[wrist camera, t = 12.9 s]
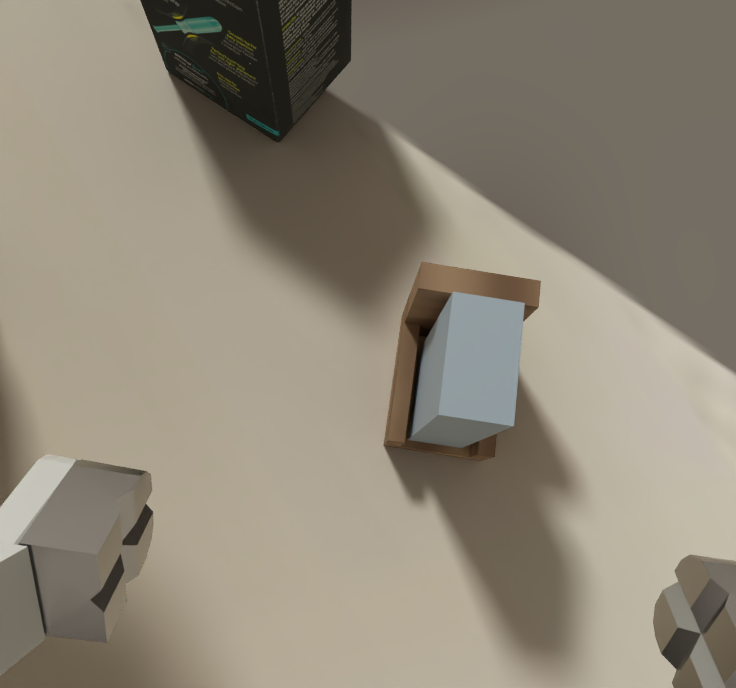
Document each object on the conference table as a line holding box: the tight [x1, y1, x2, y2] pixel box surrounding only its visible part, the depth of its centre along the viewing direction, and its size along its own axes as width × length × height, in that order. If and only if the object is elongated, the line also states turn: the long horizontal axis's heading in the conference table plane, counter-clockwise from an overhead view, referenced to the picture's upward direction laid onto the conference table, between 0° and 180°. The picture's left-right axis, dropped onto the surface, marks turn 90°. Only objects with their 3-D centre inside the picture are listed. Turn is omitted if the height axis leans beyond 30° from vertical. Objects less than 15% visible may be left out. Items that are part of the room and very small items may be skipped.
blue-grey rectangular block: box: [408, 292, 525, 448], centre depth 35 cm, size 4×6×12 cm, turn 172°
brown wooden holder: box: [384, 262, 541, 460], centre depth 37 cm, size 6×9×10 cm
